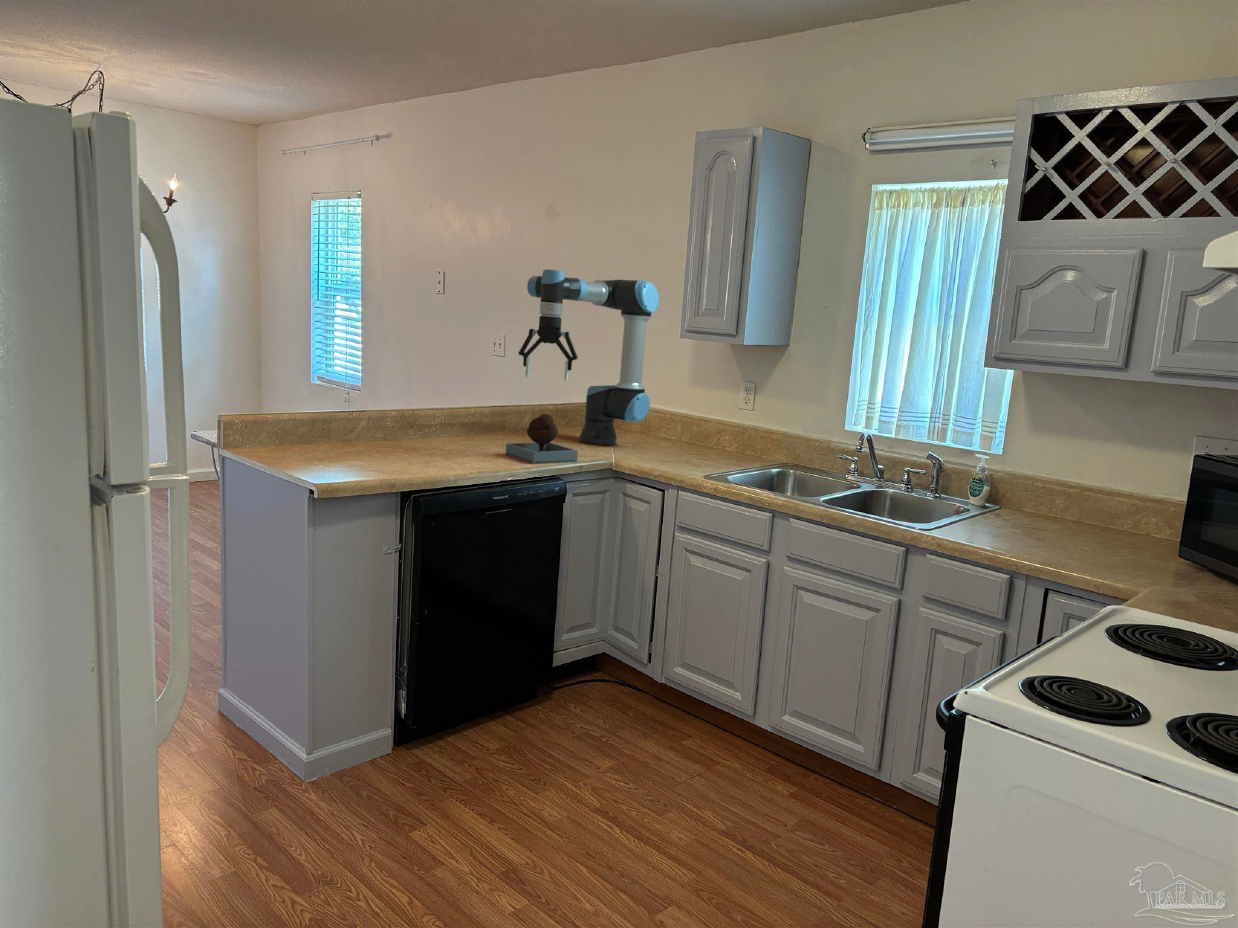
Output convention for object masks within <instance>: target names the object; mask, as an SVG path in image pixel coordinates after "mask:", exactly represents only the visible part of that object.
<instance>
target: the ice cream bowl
mask: <svg viewBox="0 0 1238 928" xmlns="http://www.w3.org/2000/svg"><path fill="white" fill-rule="evenodd" d="M526 433H527V436H528V438H529V439H530V440H531V441H532V442H535V443H537V444H538V445H539V451H538V452H540V451H544V446H545V444H548V443H550V442H551V443H552V442H553V441H554V439H555V438H556V437H557V435H558V433H559V429H558V427H557V425H556V424H555V421H554V418H553V417H552V415H550V414H548V413H542V414H540V416H538V417H535V418H532V420H530V422H529V425H528V427H527V428H526Z"/></svg>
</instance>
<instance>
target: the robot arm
mask: <svg viewBox="0 0 1238 928" xmlns="http://www.w3.org/2000/svg"><path fill="white" fill-rule="evenodd" d="M526 286H527V287H526V289H527V292H528V293H527V294H528V295H530V296H531V297H532V298H537V299H538V298H539V299H540V303H539V305H540V306H539V314H540V315H539V316H538V317H539V319H538V320H539V322H538V329H534V328H530V329H529V330H528V335H527V337H526V339H525V340H524V342H523V344H522V345H521V347H520V349H519V351H518V355H519V356H522V357H523V359H522V360H523V363H522V364H523V365H522V366H523V367H525V377H527V378H528V377H530V369H531V357H529V356H530V355H531V354H532V353H533V352H534V351H535V350H536V348H538V347H539V345H541V344H542V343H543V344H550V345H551V344H552V345H554V344H555V345H556V346H557V347H558V349H559V350H560V351H561V353H562V354H563V355H564V357H565V358H566V359H567V360H565V365H564V380H563V381H568V380H569V371H572V369H573V367H572V366H573V362H574V361H575V360H576V361H577V360H578V354H577V352H576V350H575V347H574V345H573V343H572V339H571V332H570V331H562V318H561V317H562V314H563V301H565V300H566V301H576V302H585V303H592V305H594V306H598V307H604V308H607V309H608V308H609V309H612V310H618V311H621V312H620V315H621V317H622V318H623V320H624V322H623V334H622V335H623V336H622V350H621V360H620V362H621V363H620V373H619V382H617V383H616V385H612V384H611V385H609V384H608V385H590V386H589V387H588V388H587V391H586V396H585V397H586V398H585V399H586V400H585V416H584V423H583V426H582V428H581V432H580V434H579V438H578V440H579V442H581V443H584V444H589V445H599V446H614V445H617V440H618V438H617V433H616V429H615V420H619V421H624V422H625V421H626V422H629V423H631V422H632V423H639V422H641V421H643V420H644V419H645V417H646V416H647V415H648V413H649V411H650V408H651V407H650V406H651V400H650V396H649V395H648V394H647V393H645V390H646V387H645V386H644V385H643V382H642V381H643V369H644V356H645V344H646V333H647V322H648V321H649V320H650V319H651V318H652V313H654V312H655V311H657V309H658V307H659V301H660V299H659V292H658V290H657V288H656V286H655V285H654V283H652V282H650V281H645V280H636V279H635V280H634V279H609V280H608V279H607V280H601V279H598V280H595V281H594V280H593V281H586V280H584V279H582V278H578V277H577V278H576V277H566V276H565V272H564V270H560V269H548V268H547V269H546V268H545V269H544V270H543V271H542V274H541V275H533V276H531V277H530V278H529V279H528V280H527V284H526ZM536 334H537V336H538V338H537V340H536V341H535V342H534V343H533V344H532V345H531V346H530V347H529V348H528V346H529V344H530V343H531V341H532V339H533V338H534V336H536ZM561 337H563V339H565V341H566V344H567V347H568V350H569V351H570V353H569V352H568V350H567V349H566V348H565V345H563V343H562V342H561V339H560V338H561ZM527 348H528V349H527ZM526 350H527V351H526ZM525 351H526V352H525ZM570 354H571V355H570Z"/></svg>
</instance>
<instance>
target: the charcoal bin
mask: <svg viewBox="0 0 1238 928" xmlns="http://www.w3.org/2000/svg"><path fill="white" fill-rule="evenodd" d="M505 445H506V447H505V456H508V457H512V458H514V459H518V460H521V461H524V462H526V463H529V464H531V465H539V464H543V465H544V464H561V463H577V461H578V452H579V450H578V449H574V448H571V447H567V446H564V445H562V444H561V445H560V444H557V443H554V442H552V441H551V442H550V443H548V444H545V446H544V451H540V452H538V451H539V445H538V444H537V443H535V442H534V441H532V442H507V443H506V444H505Z"/></svg>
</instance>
